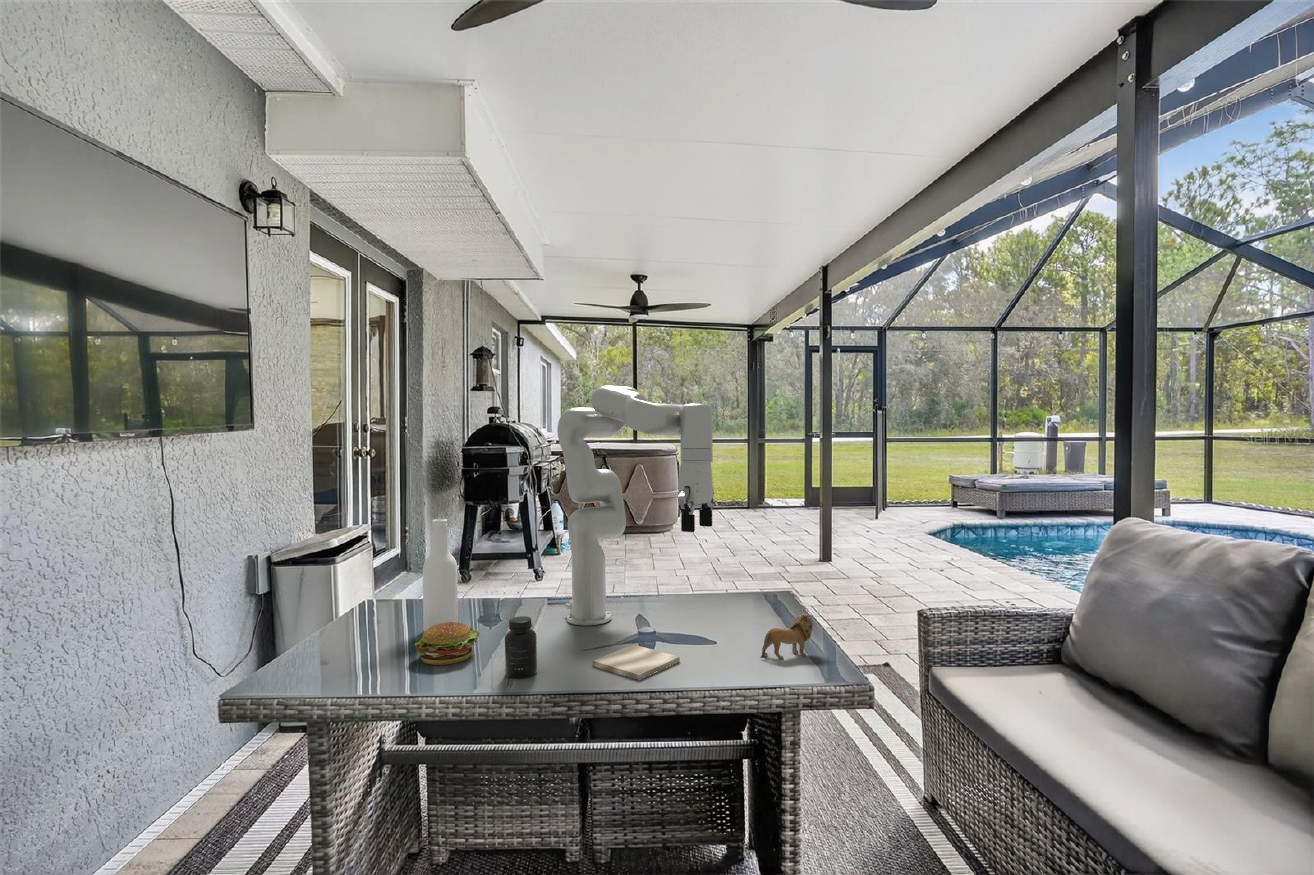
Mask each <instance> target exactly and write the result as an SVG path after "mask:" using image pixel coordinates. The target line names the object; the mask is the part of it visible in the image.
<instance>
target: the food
mask: <svg viewBox="0 0 1314 875" xmlns="http://www.w3.org/2000/svg"><path fill="white" fill-rule="evenodd" d="M479 636H480V632H479V631H478V630H476V629H473V628H471V627H469V626H467V624H465V623H463V622H459V621H458V622H444V623H440V624H436V625H433V626H431V627H430V628H428V629H427V630H426V631H424V632H423V633H422V637H421V638H419V640H418V641H417V642H415V643H414V646H416V649H417V650H416V654H417V656H419V657H420V659H421V661H422V662H423V663H424V664H428V665H433V666H445V665H451V664H457V663H460V662H463V661H466V660H468V659H469V658H470V657H472V655H473V653H474V651H473V647H474V646H475V644H476V643H477V640H478V639H479Z"/></svg>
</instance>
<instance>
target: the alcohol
mask: <svg viewBox="0 0 1314 875" xmlns="http://www.w3.org/2000/svg"><path fill="white" fill-rule="evenodd" d="M431 522H432V524H431V527H432V528H431V529H432V530H431V544H430V552H429V554H428V557H426V558H425V560H424V561H423V566H422V607H423V608H422V609H423V610H422V611H423V612H422V613H423V615H422V616H423V619H422V620H423V621H422V622H423V631H424V632H425V631H426V630H427V629H428V628H430V627H431V626H433V625H436V624H440V623H444V622H459V615H458V614H459V613H458V612H459V610H458V609H459V608H458V607H459V606H458V605H459V603H458V602H459V601H458V599H459V598H458V592H459V591H458V563H457V560H456V559H455V557H454V556H453V555H452V553H451V550H450V544H449V543H450V542H449V534H448V532H449V531H448V525H449V524H448V519H447V518H435V519H432V520H431Z"/></svg>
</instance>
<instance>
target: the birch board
mask: <svg viewBox="0 0 1314 875" xmlns="http://www.w3.org/2000/svg"><path fill="white" fill-rule="evenodd" d="M676 662H679V663H680V656H679V655H675V654H670V653H666V652H664V651H663V652H662V651H659V650H656V649H652V648H648V647H644V646H641V645H636V644H632V645H630V646H627V647H624V648H622V649H619V650H616V651H615V652H614V651H613V652H611V653H609V654H606V655H604V656H602V657H598V658H596V659H594V660H592V667H595V668H598V669H601V670H604V671H607V672H610V673H614V674H617V675H620V676H623V677H626V676H628V677H627V678H629V677H631V678H630V679H632V678H634V679H633V680H635V679H637V680H636V681H641V680H643V679H642V678H644V677H646V676H648V677H650V676H651V675H650V674H652V675H654V674H653V673H654V672H656V671H659V672H661V671H663V670H662V669H664V668H666V667H668V668H670V667H671V666H670V665H672V664H674V663H676ZM669 666H670V667H669ZM672 666H673V665H672ZM666 669H667V668H666ZM660 670H661V671H660ZM664 670H665V669H664ZM649 675H650V676H649ZM646 678H647V677H646ZM640 679H641V680H640ZM644 679H645V678H644Z"/></svg>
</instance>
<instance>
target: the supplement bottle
mask: <svg viewBox="0 0 1314 875" xmlns="http://www.w3.org/2000/svg"><path fill="white" fill-rule="evenodd" d="M532 627H533V624H532V617H530V616H526V615H525V616H524V615H523V616H522V615H520V616H515V617H511V618H510V619H509V621H508V630H509V631H507V633H506V634H505V635H504V663H505V665H504V666H505V667H504V669H505V670H504V671H505V675H506V676H507V677H508V678H509V679H512V680H513V679H514V680H518V679H519V680H520V679H521V680H522V679H528V678H531V677H533V676H534V675H535V674H536V673H537V671H538V654H537V653H538V650H537V649H538V648H537V646H538V645H537V642H538V641H537V633H536V631H535V630H534V629H532Z"/></svg>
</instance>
